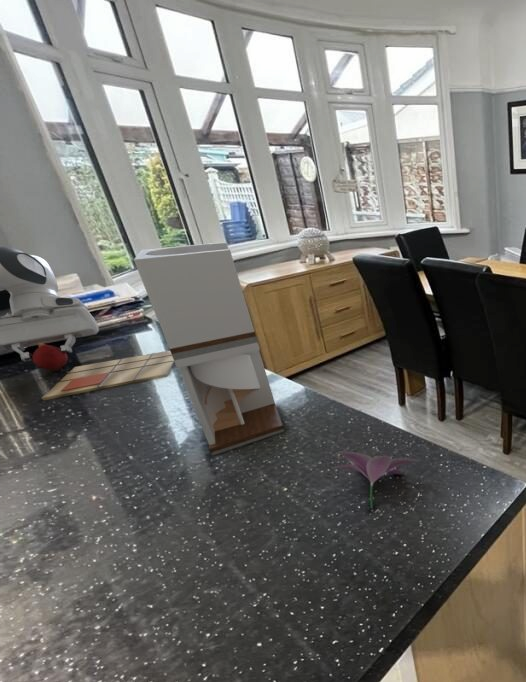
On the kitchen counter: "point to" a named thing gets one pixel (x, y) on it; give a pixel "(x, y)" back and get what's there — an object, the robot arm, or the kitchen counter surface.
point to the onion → (49, 357)
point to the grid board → (112, 374)
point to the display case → (211, 341)
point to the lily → (373, 466)
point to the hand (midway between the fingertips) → (47, 356)
